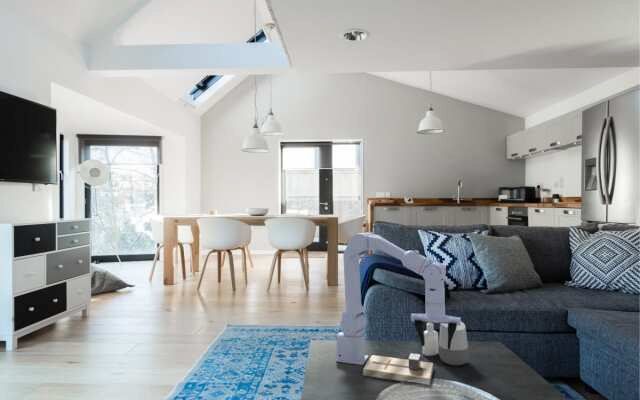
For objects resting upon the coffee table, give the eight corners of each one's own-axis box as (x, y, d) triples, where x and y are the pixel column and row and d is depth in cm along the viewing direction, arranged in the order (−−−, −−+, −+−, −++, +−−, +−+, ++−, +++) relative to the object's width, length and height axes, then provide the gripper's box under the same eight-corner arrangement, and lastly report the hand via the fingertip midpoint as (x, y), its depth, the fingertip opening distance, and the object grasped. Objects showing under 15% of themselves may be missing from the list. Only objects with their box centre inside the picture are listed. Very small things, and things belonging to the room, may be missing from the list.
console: (363, 375, 121) (363, 368, 121) (372, 360, 132) (372, 354, 132) (429, 385, 113) (429, 378, 113) (433, 369, 125) (432, 362, 125)
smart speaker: (452, 370, 124) (451, 326, 124) (433, 360, 132) (432, 318, 132) (474, 364, 128) (473, 322, 128) (454, 355, 136) (453, 315, 136)
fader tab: (408, 369, 119) (408, 358, 119) (410, 363, 123) (410, 353, 124) (418, 370, 118) (418, 359, 118) (420, 364, 122) (420, 354, 122)
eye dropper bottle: (439, 356, 135) (438, 322, 135) (422, 356, 136) (422, 321, 136) (437, 352, 139) (437, 318, 139) (421, 351, 140) (421, 318, 140)
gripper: (409, 303, 118) (410, 348, 117) (459, 306, 113) (460, 353, 112) (412, 298, 124) (413, 340, 124) (460, 301, 119) (461, 345, 119)
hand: (435, 346), depth 119 cm, fingers open, 7 cm apart
